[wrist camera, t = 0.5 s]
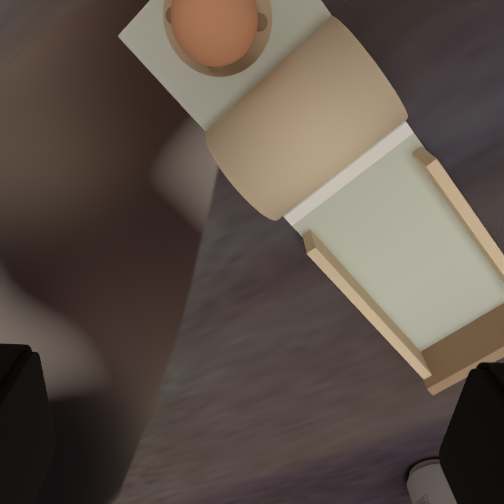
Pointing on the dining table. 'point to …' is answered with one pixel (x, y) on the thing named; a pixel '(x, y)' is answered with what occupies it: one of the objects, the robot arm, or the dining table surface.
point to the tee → (237, 66)
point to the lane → (347, 183)
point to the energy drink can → (429, 484)
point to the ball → (214, 29)
